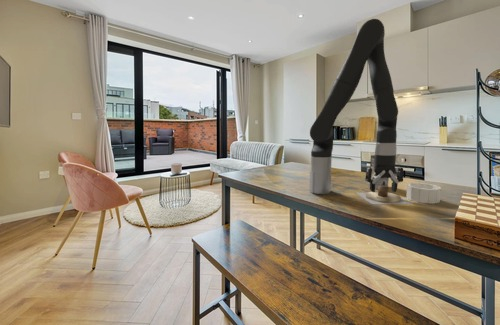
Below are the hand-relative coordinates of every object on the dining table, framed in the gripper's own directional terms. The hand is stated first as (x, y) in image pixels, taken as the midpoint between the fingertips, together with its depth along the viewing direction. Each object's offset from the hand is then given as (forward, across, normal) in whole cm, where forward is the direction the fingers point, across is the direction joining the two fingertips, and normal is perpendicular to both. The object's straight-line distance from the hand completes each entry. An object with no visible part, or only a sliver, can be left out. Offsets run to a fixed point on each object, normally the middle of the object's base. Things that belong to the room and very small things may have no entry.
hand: (383, 191), depth 98 cm
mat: (+3, 0, 0) cm, 3 cm away
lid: (+3, 0, 0) cm, 3 cm away
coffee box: (+4, +7, +18) cm, 20 cm away
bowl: (+3, +15, -2) cm, 15 cm away
